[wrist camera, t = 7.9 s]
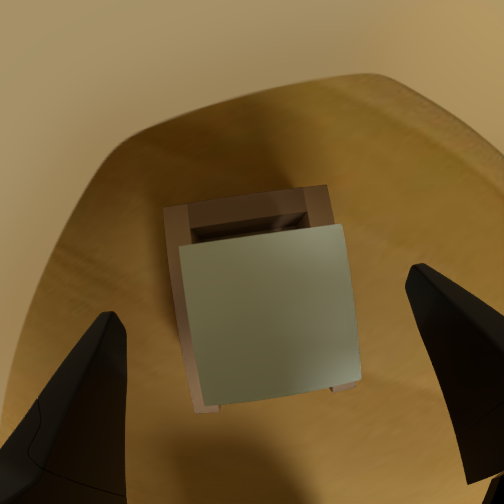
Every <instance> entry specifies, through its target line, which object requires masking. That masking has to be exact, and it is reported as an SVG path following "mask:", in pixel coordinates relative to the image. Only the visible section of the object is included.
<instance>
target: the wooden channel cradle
mask: <svg viewBox="0 0 504 504" xmlns="http://www.w3.org/2000/svg"><path fill="white" fill-rule="evenodd" d="M163 217H164V228H165V238H166V247H167V256H168V264H169V272H170V280H171V287H172V294H173V301H174V307H175V314H176V320H177V326H178V332H179V338H180V343H181V349H182V354H183V359H184V365H185V370H186V375H187V379H188V384H189V389H190V393H191V398H192V402H193V407H194V411H195V414H198V413H211V412H220V407H221V405H213V406H204V401H203V397H202V392H201V387H200V382H199V377H198V372H197V366H196V361H195V355H194V350H193V344H192V338H191V332H190V326H189V320H188V313H187V307H186V300H185V293H184V285H183V278H182V270H181V262H180V254H179V246H185V245H191V244H198V243H205V242H212V241H219V240H225V239H232V238H239V237H246V236H254V235H261V234H268V233H275V232H282V231H290V230H297V229H305V228H312V227H320V226H328V225H335V223H334V218H333V213H332V208H331V203H330V198H329V193H328V189H327V185H318V186H309V187H300V188H292V189H283V190H275V191H267V192H260V193H252V194H245V195H238V196H232V197H225V198H218V199H212V200H206V201H199V202H193V203H187V204H182V205H176V206H170V207H165V208H163ZM354 387H356V381H354V382H350V383H346V384H342V385H337V386H333V387H329V388H330V390H331V391H332V392H333V393H335V392H339V391H343V390H347V389H351V388H354Z"/></svg>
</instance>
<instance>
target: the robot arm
mask: <svg viewBox="0 0 504 504" xmlns="http://www.w3.org/2000/svg"><path fill="white" fill-rule="evenodd" d="M405 290H406V293H407V296H408V299H409V302H410V305H411V308H412V311H413V314H414V317H415V320H416V324H417V327H418V330H419V332H420V335H421V337H422V340H423V342H424V345H425V347H426V350H427V352H428V355H429V357H430V360H431V362H432V365H433V368H434V370H435V373H436V376H437V379H438V381H439V384H440V387H441V390H442V393H443V396H444V399H445V402H446V405H447V408H448V411H449V414H450V418H451V421H452V424H453V428H454V431H455V435H456V439H457V443H458V447H459V450H460V454H461V459H462V463H463V467H464V472H465V476H466V481H467V484H468V485H469V484H472V483H475V482H478V481H480V480H483V479H486V478H488V477H491V476H493V475H496V474H498V473H500V472H501V473H500V474H498V475H497V476H496V477H494V478H493V479H492V480H491V483H490V485H489V488H488V490H487V493H486V495H485V498H484V500H483V502H482V504H504V316H503V315H502V314H500V313H499V312H497V311H496V310H495V309H493V308H492V307H490V306H489V305H487V304H486V303H485V302H483V301H482V300H480V299H479V298H477V297H476V296H474V295H473V294H471V293H470V292H468V291H467V290H465V289H464V288H462V287H461V286H459V285H458V284H456V283H455V282H453V281H452V280H450V279H448V278H447V277H445V276H444V275H442V274H441V273H439V272H437V271H436V270H434V269H433V268H431V267H429V266H428V265H426V264H424V263H420V264H415V265H412V266H411V268H410V271H409V274H408V277H407V280H406V283H405ZM126 393H127V334H126V330H125V327H124V326H123V324H122V322H121V321H120V319H119V318H118V316H117V314H116V313H115V312H113V311H109V312H102V313H101V314H100V315H99V316H98V317H97V318H96V320H95V321H94V322H93V323H92V325H91V326H90V327H89V328H88V330H87V331H86V332H85V334H84V335H83V336H82V337H81V339H80V340H79V341H78V343H77V344H76V345H75V346H74V348H73V349H72V350H71V352H70V353H69V354H68V356H67V357H66V358H65V360H64V361H63V362H62V364H61V365H60V367H59V368H58V369H57V371H56V372H55V373H54V375H53V376H52V378H51V379H50V380H49V382H48V383H47V385H46V386H45V388H44V389H43V390H42V392H41V393H40V395H39V396H38V399H36V401H35V402H34V403H33V405H32V406H31V408H30V409H29V411H28V412H27V414H26V415H25V417H24V418H23V419H22V421H21V422H20V423H19V425H18V426H17V428H16V429H15V430H14V432H13V433H12V434H11V435H10V437H9V438H8V439H7V441H6V442H5V443H4V445H3V446H2V447H1V449H0V504H127V498H126V482H125V414H126Z"/></svg>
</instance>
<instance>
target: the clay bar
mask: <svg viewBox="0 0 504 504" xmlns="http://www.w3.org/2000/svg"><path fill="white" fill-rule="evenodd" d="M179 254H180V262H181V270H182V278H183V285H184V293H185V300H186V307H187V313H188V320H189V326H190V332H191V338H192V344H193V350H194V355H195V361H196V366H197V372H198V377H199V382H200V387H201V392H202V397H203V401H204V406H213V405H224V404H233V403H242V402H250V401H258V400H265V399H271V398H278V397H284V396H289V395H295V394H300V393H305V392H310V391H315V390H320V389H324V388H329V387H333V386H337V385H342V384H346V383H350V382H354V381H357V380H361V364H360V352H359V341H358V331H357V321H356V313H355V304H354V297H353V289H352V282H351V275H350V269H349V262H348V256H347V250H346V244H345V238H344V233H343V227H342V224H335V225H328V226H320V227H312V228H305V229H297V230H290V231H282V232H275V233H268V234H261V235H254V236H246V237H239V238H232V239H225V240H219V241H212V242H205V243H198V244H191V245H185V246H179Z"/></svg>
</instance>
